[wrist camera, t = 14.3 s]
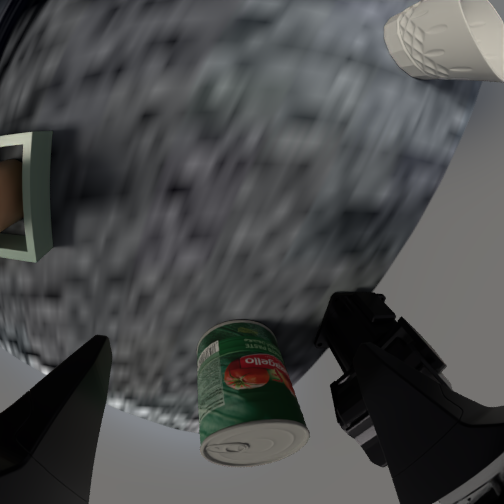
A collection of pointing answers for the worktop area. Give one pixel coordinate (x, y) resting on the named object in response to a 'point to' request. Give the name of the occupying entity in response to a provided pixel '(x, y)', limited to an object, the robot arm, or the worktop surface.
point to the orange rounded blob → (10, 193)
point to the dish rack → (32, 198)
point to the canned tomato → (246, 397)
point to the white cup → (448, 40)
